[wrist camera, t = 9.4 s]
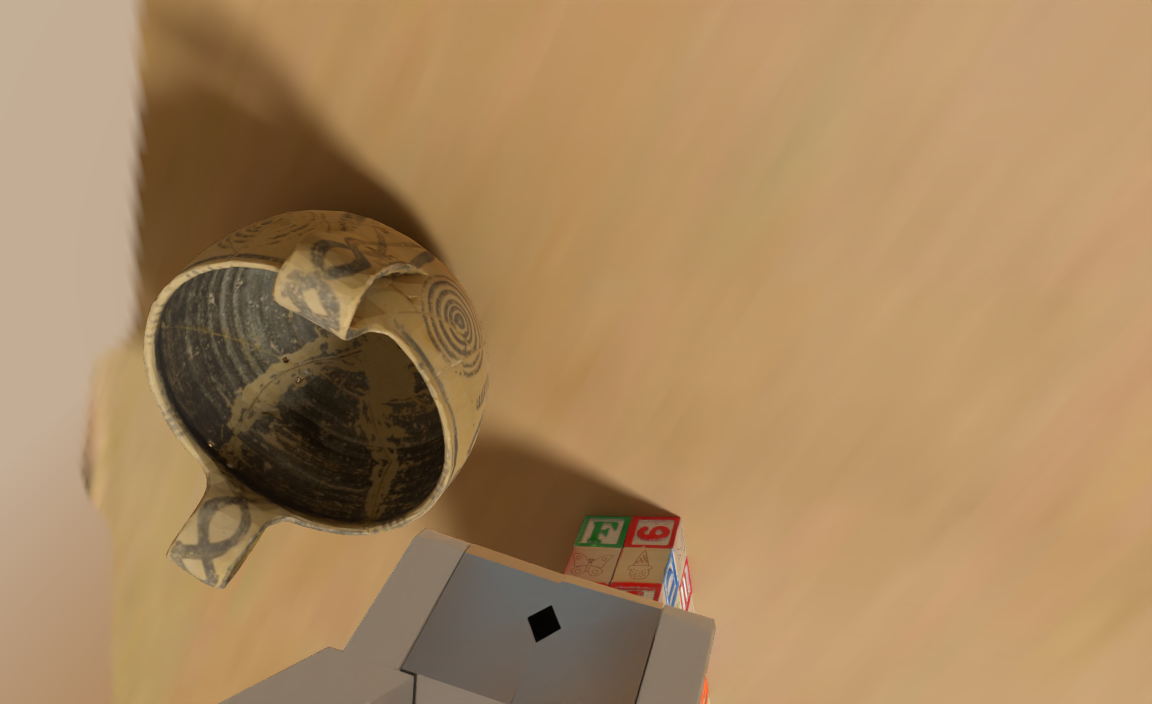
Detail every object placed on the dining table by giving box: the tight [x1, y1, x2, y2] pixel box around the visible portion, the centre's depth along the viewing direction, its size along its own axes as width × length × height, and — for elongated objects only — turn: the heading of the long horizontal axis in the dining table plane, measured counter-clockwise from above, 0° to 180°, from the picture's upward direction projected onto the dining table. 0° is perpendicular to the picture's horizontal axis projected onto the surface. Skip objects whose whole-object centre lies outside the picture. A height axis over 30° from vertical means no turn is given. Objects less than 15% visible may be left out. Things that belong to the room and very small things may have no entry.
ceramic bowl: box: [143, 210, 489, 589], centre depth 49 cm, size 22×17×15 cm
